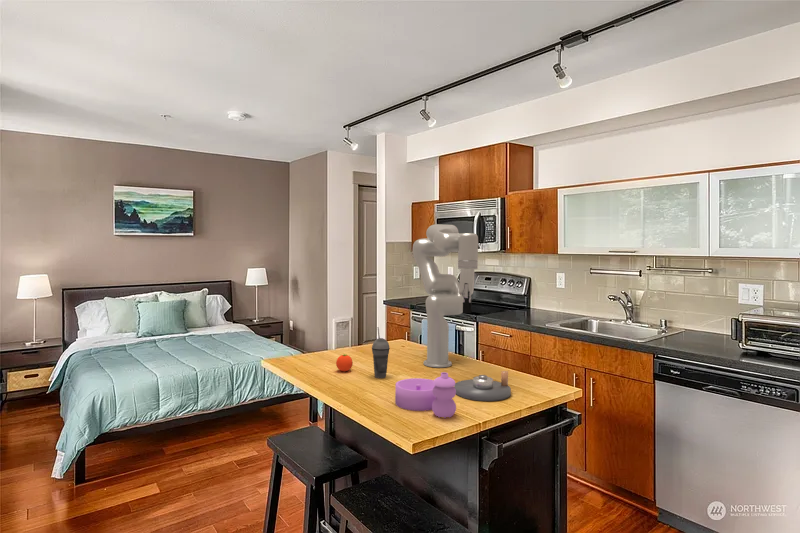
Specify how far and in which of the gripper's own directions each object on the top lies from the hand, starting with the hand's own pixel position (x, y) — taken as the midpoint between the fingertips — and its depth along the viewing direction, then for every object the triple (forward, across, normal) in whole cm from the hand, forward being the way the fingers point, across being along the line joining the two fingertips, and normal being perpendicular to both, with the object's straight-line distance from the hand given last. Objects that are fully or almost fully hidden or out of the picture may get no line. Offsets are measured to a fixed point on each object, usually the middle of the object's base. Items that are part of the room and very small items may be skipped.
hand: (467, 312), depth 184 cm
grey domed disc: (+27, +13, +7) cm, 31 cm away
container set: (+28, +34, -9) cm, 44 cm away
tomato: (+27, -3, -51) cm, 58 cm away
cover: (+25, +13, +7) cm, 29 cm away
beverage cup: (+27, +2, -34) cm, 44 cm away
